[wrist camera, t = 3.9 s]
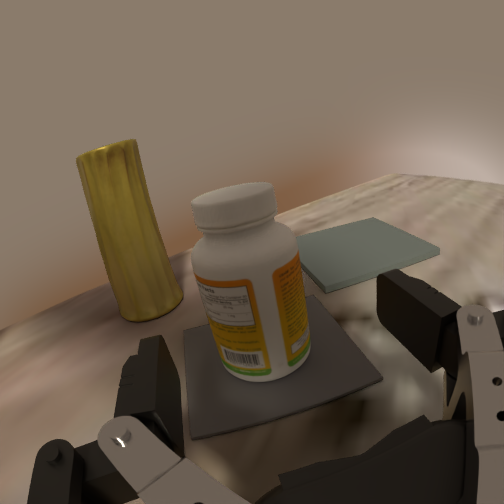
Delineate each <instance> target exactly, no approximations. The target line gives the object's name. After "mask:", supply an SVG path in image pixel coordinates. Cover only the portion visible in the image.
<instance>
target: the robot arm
mask: <svg viewBox="0 0 504 504" xmlns="http://www.w3.org/2000/svg"><path fill="white" fill-rule="evenodd" d="M377 315H378V318H379V320H380V322H381V324H382V325H383V326H384V327H385V328H386V329H387V330H388V331H389V332H390V333H391V334H392V335H393V336H394V337H395V338H396V339H397V340H398V341H400V342H401V343H402V344H403V345H404V346H405V347H406V348H407V349H408V350H409V351H410V352H411V353H412V354H413V355H414V356H415V357H416V358H417V359H418V360H419V361H420V362H421V363H422V364H423V365H424V366H425V367H426V368H427V369H428V370H429V371H430V373H432V372H434V371H436V370H438V369H440V368H441V367H443V368H444V369H445V371H444V375H443V418H442V420H439V421H434V422H430V421H429V420H428V419H427V418H426V417H425V415H422V416H420V417H418V418H416V419H415V420H413V421H411V422H409V423H407V424H405V425H403V426H401V427H399V428H397V429H395V430H393V431H392V432H391V433H389V434H388V435H387V436H386V437H384V438H383V439H382V440H381V441H379V442H378V443H377V444H376V445H374V446H373V447H372V448H370V449H369V450H368V451H366V452H365V453H363V454H361V455H358V456H353V457H348V458H343V459H337V460H330V461H324V462H318V463H315V464H312V465H309V466H306V467H303V468H300V469H297V470H293V471H290V472H287V473H283V474H280V475H278V476H279V479H280V482H281V485H279V486H277V487H276V488H274V489H272V490H271V491H269V492H268V493H266V494H265V495H264V496H262V497H261V498H260V499H259V500H258V501H257V502H256V503H255V504H504V310H501V311H497V312H494V313H492V312H491V311H490V310H489V309H487V308H485V307H483V306H480V305H466V306H463V307H461V306H460V305H458V304H457V303H456V302H454V301H453V300H451V299H450V298H448V297H447V296H445V295H444V294H442V293H441V292H438V290H436V289H435V288H433V287H431V286H430V285H429V284H427V283H426V282H424V281H423V280H420V279H417V278H413V277H409V276H408V275H406V274H405V273H403V272H402V271H400V270H398V269H392V270H390V271H387V272H384V273H381V274H379V275H378V276H377ZM119 386H120V388H119V389H118V395H117V401H116V407H115V413H114V419H112V420H110V421H108V422H107V423H106V424H105V425H104V426H103V427H102V428H101V430H100V431H99V434H98V440H96V441H93V442H91V443H88V444H85V445H83V446H80V447H77V448H74V447H73V446H72V445H71V444H70V443H69V442H68V441H66V440H63V439H55V440H52V441H49V442H47V443H46V444H45V445H43V446H42V447H41V448H40V450H39V451H38V453H37V456H36V459H35V464H34V469H33V473H32V478H31V484H30V489H29V495H28V501H27V504H124V503H127V502H129V501H132V500H135V499H138V498H141V500H142V501H143V502H144V503H145V504H251V503H249V502H248V501H246V500H245V499H243V498H242V497H240V496H239V495H237V494H236V493H234V492H233V491H231V490H230V489H228V488H227V487H225V486H224V485H223V484H221V483H220V482H218V481H217V480H216V479H214V478H213V477H211V476H210V475H209V474H207V473H206V472H205V471H203V470H202V469H201V468H199V467H198V466H197V465H196V464H194V463H193V462H192V461H190V460H189V459H187V458H186V457H185V453H184V440H183V425H182V408H181V387H180V379H179V375H178V372H177V369H176V366H175V364H174V362H173V359H172V357H171V355H170V352H169V350H168V348H167V345H166V343H165V340H164V338H163V337H162V335H158V336H153V337H149V338H144V339H141V340H140V344H139V350H138V354H137V355H133V356H130V357H129V358H128V360H127V361H126V363H125V364H124V366H123V368H122V374H121V379H120V384H119ZM182 457H183V458H182Z"/></svg>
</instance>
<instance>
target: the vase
mask: <svg viewBox="0 0 504 504" xmlns="http://www.w3.org/2000/svg"><path fill="white" fill-rule="evenodd" d="M76 163H77V167H78V170H79V174H80V178H81V182H82V186H83V190H84V194H85V197H86V200H87V204H88V208H89V211H90V215H91V219H92V222H93V225H94V229H95V232H96V237H97V241H98V244H99V248H100V252H101V255H102V258H103V261H104V264H105V268H106V271H107V275H108V278H109V281H110V284H111V286H112V289H113V291H114V294H115V297H116V299H117V302H118V305H119V311H120V314H121V315H122V317H124V318H125V319H126V320H129V321H134V322H142V321H148V320H152V319H155V318H158V317H160V316H163V315H165V314H167V313H168V312H170V311H171V310H173V309H174V308H175V307H176V306H177V305H178V304H179V303H180V301H181V300H182V297H183V292H182V290H181V288H180V287H179V285H178V283H177V281H176V278H175V276H174V273H173V270H172V268H171V265H170V262H169V259H168V256H167V253H166V250H165V247H164V243H163V240H162V237H161V234H160V232H159V228H158V224H157V221H156V218H155V214H154V210H153V207H152V204H151V200H150V197H149V193H148V189H147V185H146V180H145V176H144V172H143V168H142V164H141V159H140V155H139V150H138V145H137V142H136V139H130V140H125V141H121V142H117V143H114V144H109V145H106V146H103V147H100V148H97V149H94V150H91V151H89V152H86V153H84V154H82V155H79V156H78V157H77V158H76Z"/></svg>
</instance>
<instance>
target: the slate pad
mask: <svg viewBox="0 0 504 504" xmlns="http://www.w3.org/2000/svg"><path fill="white" fill-rule="evenodd" d="M296 240H297V245H298V250H299V257H300V264H301V268H302V269H303V270H304V271H305V272H306V273H307V274H308V275H309V276H310V277H311V278H312V279H313V280H314V281H315V282H316V283H317V284H318V286H319V287H320V288H321V289H322V290H323V291H324V292H325V293H329V292H332V291H335V290H338V289H341V288H344V287H347V286H350V285H353V284H357V283H360V282H363V281H366V280H369V279H372V278H374V277H377V276H378V275H379V274H381V273H384V272H387V271H390V270H392V269H400V268H403V267H406V266H409V265H412V264H414V263H417V262H420V261H423V260H425V259H428V258H431V257H433V256H436V255H439V254H440V248H439V247H437V246H435V245H433V244H431V243H428V242H426V241H424V240H422V239H420V238H418V237H416V236H414V235H411V234H409V233H407V232H405V231H403V230H401V229H398V228H396V227H394V226H392V225H389V224H387V223H385V222H383V221H380V220H378V219H376V218H374V217H373V218H369V219H365V220H361V221H357V222H353V223H349V224H345V225H341V226H337V227H333V228H329V229H325V230H321V231H317V232H313V233H309V234H306V235H302V236H298V237H296Z"/></svg>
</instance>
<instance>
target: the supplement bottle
mask: <svg viewBox="0 0 504 504" xmlns="http://www.w3.org/2000/svg"><path fill="white" fill-rule="evenodd" d="M191 206H192V211H193V215H194V220H195V224H196V225H197V229H198V230H199V231H201V232H203V235H204V237H202V238H201V239H200V240H199V241H198V242H197V243H196V245H195V246H194V248H193V250H192V253H191V263H192V267H193V271H194V275H195V278H196V281H197V284H198V287H199V291H200V294H201V297H202V301H203V304H204V307H205V311H206V314H207V317H208V320H209V323H210V327H211V330H212V333H213V336H214V339H215V342H216V345H217V349H218V352H219V355H220V357H221V360H222V363H223V365H224V367H225V368H226V369H227V371H228V372H230V373H231V374H232V375H234V376H236V377H238V378H240V379H243V380H246V381H252V382H266V381H272V380H276V379H279V378H282V377H284V376H286V375H288V374H290V373H292V372H293V371H295V370H296V369H297V368H299V367H300V366H301V365H302V364H303V363H304V361H305V360H306V358H307V357H308V355H309V352H310V346H311V343H310V332H309V324H308V316H307V308H306V300H305V293H304V286H303V278H302V271H301V264H300V257H299V250H298V245H297V240H296V237H295V234H294V233H293V231H292V230H291V229H290V228H289V227H287V226H286V225H284V224H282V223H279V222H275V220H274V217H275V216H276V214H277V212H278V211H277V202H276V198H275V193H274V188H273V185H272V184H271V183H267V182H253V183H245V184H239V185H234V186H229V187H225V188H221V189H218V190H214V191H211V192H208V193H205V194H203V195H200V196H198V197H197V198H195V199H193V200H192V202H191Z"/></svg>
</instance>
